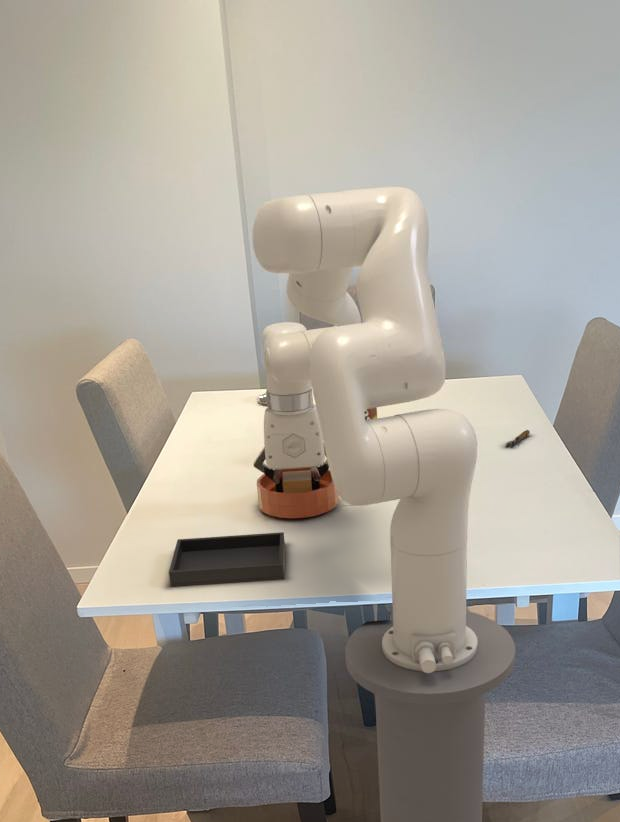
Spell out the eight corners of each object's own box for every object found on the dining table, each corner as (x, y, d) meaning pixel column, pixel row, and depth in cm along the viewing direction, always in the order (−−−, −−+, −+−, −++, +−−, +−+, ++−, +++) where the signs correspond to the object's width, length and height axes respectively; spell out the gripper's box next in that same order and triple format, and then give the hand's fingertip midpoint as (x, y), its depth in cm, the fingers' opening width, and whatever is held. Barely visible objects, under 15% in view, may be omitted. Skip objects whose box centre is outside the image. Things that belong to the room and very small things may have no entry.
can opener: (525, 434, 193) (525, 429, 193) (535, 436, 192) (535, 430, 191) (502, 446, 188) (502, 441, 187) (512, 448, 186) (512, 443, 186)
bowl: (340, 518, 160) (338, 491, 157) (258, 523, 160) (255, 496, 157) (337, 488, 172) (335, 463, 170) (261, 493, 172) (258, 468, 169)
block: (313, 506, 164) (311, 479, 161) (284, 508, 163) (282, 481, 161) (312, 496, 168) (310, 470, 165) (285, 498, 168) (282, 471, 165)
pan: (284, 578, 141) (282, 564, 139) (171, 586, 140) (168, 572, 139) (285, 545, 151) (283, 532, 150) (179, 552, 151) (177, 539, 150)
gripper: (238, 409, 153) (250, 512, 162) (341, 403, 153) (347, 506, 162) (241, 397, 159) (252, 496, 169) (339, 391, 160) (345, 490, 169)
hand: (298, 500), depth 165 cm, fingers closed on block, 5 cm apart
